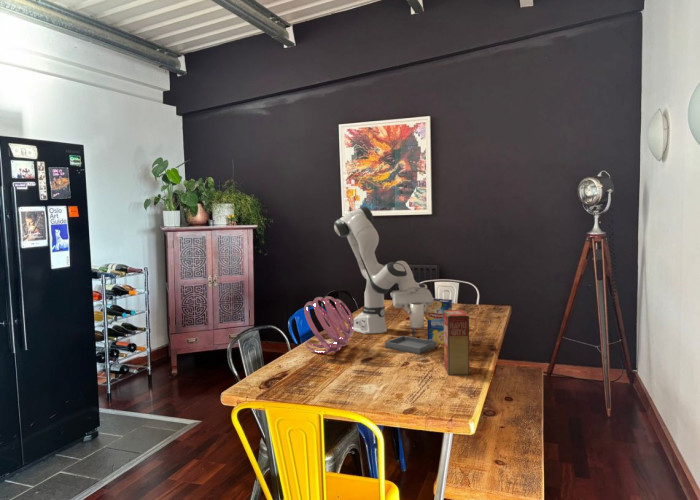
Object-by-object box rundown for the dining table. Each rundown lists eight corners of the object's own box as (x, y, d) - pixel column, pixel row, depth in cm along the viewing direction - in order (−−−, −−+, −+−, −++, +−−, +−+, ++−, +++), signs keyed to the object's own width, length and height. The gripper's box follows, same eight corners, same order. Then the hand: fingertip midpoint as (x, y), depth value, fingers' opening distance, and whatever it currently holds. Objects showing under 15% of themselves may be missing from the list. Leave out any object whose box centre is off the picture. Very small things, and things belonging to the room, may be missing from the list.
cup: (407, 326, 247) (407, 304, 246) (414, 324, 252) (414, 301, 251) (419, 328, 243) (419, 305, 242) (426, 325, 248) (426, 303, 247)
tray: (385, 347, 257) (385, 341, 257) (403, 341, 270) (402, 335, 269) (419, 354, 245) (419, 348, 244) (436, 347, 257) (436, 341, 257)
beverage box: (447, 344, 262) (448, 301, 260) (427, 342, 267) (427, 300, 265) (451, 341, 268) (452, 299, 266) (431, 339, 273) (431, 298, 271)
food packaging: (442, 365, 227) (442, 309, 225) (464, 365, 227) (464, 309, 225) (447, 375, 214) (447, 315, 212) (470, 375, 213) (470, 315, 212)
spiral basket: (277, 314, 247) (323, 283, 242) (302, 316, 273) (343, 288, 268) (304, 365, 238) (352, 334, 233) (327, 363, 264) (370, 335, 259)
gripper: (390, 287, 250) (398, 311, 241) (429, 284, 256) (438, 307, 247) (387, 294, 255) (395, 318, 246) (425, 292, 260) (434, 314, 252)
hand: (417, 313), depth 247 cm, fingers closed on cup, 6 cm apart
